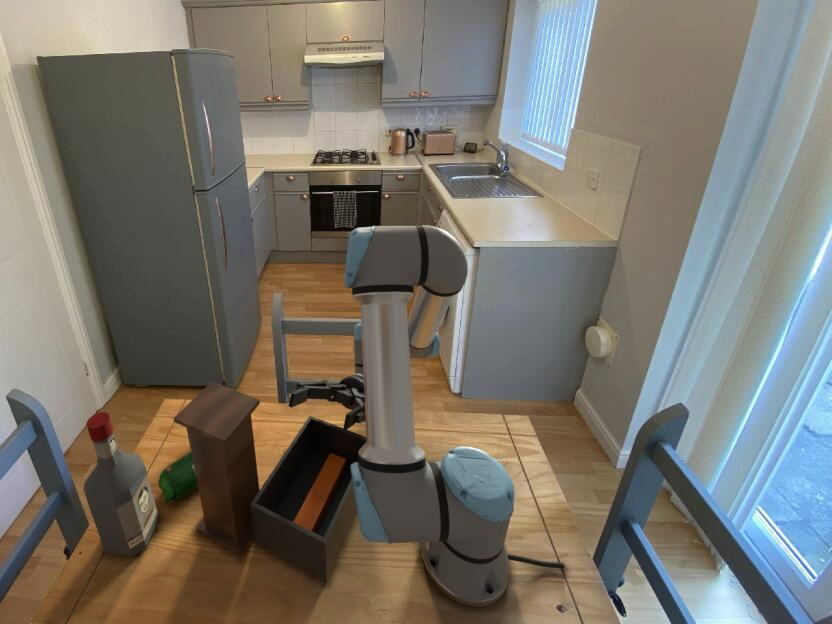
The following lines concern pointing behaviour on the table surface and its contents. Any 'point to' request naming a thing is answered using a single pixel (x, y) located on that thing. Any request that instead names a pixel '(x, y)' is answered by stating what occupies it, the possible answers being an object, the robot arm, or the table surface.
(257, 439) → the table surface
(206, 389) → the wooden pedestal column
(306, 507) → the orange bar
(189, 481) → the snack package
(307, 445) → the dark grey open box
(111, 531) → the liquor
